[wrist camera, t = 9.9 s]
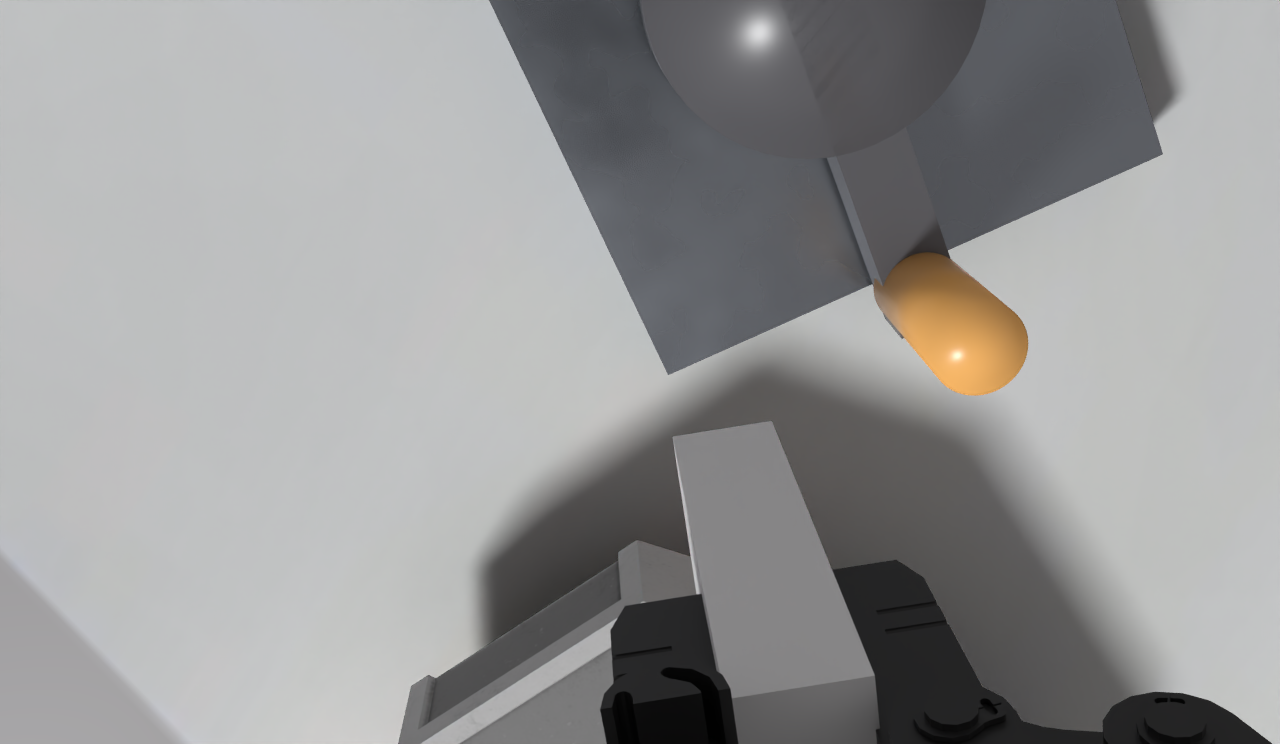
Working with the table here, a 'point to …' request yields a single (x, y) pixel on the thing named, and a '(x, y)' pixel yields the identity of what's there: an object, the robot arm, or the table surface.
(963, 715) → the robot arm
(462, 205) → the table surface
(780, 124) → the domed crank handle
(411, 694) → the first aid kit
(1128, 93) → the base
